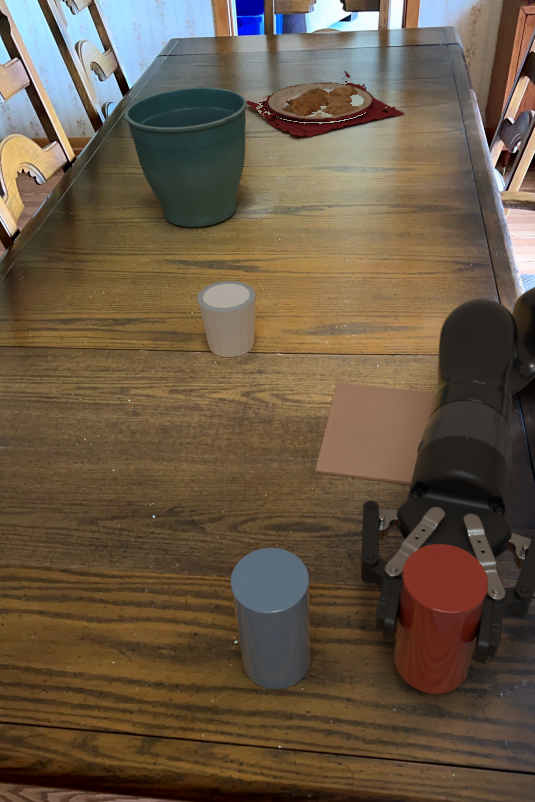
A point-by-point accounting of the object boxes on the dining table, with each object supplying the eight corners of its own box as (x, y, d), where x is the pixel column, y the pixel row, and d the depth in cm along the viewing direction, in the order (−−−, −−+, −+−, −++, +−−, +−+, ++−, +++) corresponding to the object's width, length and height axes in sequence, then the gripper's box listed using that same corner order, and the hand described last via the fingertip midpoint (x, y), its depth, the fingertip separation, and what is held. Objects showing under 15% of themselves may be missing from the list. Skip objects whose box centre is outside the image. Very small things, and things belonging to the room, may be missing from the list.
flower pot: (148, 246, 109) (128, 134, 98) (140, 198, 123) (121, 95, 112) (264, 228, 111) (256, 117, 100) (243, 183, 125) (235, 81, 114)
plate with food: (243, 109, 156) (242, 93, 154) (345, 84, 164) (344, 68, 161) (294, 143, 140) (293, 126, 137) (405, 114, 147) (405, 96, 145)
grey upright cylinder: (317, 632, 57) (315, 553, 51) (304, 695, 53) (300, 618, 47) (251, 620, 58) (241, 542, 52) (234, 682, 54) (221, 605, 48)
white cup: (231, 367, 84) (226, 317, 80) (192, 346, 88) (184, 297, 84) (270, 341, 88) (267, 292, 84) (231, 321, 92) (226, 274, 87)
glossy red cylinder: (469, 633, 54) (488, 549, 48) (468, 700, 50) (488, 619, 44) (397, 621, 55) (406, 538, 49) (390, 686, 51) (399, 605, 45)
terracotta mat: (445, 395, 78) (446, 392, 78) (439, 488, 68) (440, 485, 68) (336, 385, 81) (336, 382, 81) (315, 473, 70) (315, 470, 70)
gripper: (545, 514, 60) (538, 703, 47) (374, 482, 63) (327, 648, 51) (564, 449, 55) (561, 640, 43) (378, 419, 59) (326, 585, 46)
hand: (433, 644), depth 47 cm, fingers closed on glossy red cylinder, 5 cm apart
